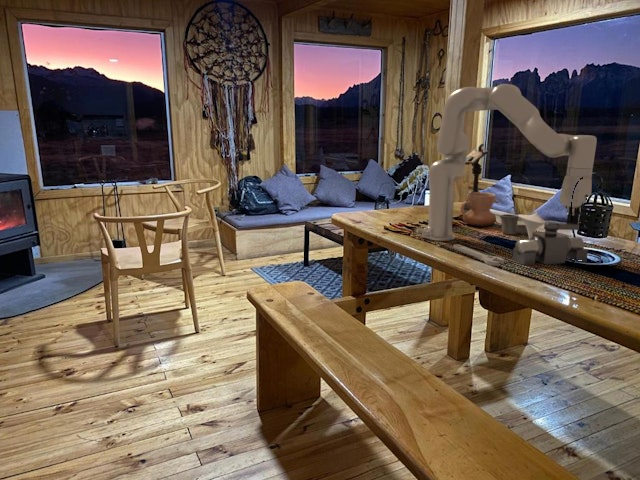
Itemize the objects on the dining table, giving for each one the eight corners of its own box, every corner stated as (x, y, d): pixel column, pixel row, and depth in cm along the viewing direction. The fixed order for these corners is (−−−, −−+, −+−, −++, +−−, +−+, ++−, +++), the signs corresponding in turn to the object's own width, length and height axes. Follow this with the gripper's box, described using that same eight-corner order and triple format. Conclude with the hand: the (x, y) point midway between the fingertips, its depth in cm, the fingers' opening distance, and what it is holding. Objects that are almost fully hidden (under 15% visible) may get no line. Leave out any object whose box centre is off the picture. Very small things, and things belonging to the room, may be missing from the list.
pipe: (532, 236, 197) (534, 217, 195) (499, 235, 200) (500, 216, 198) (529, 233, 203) (531, 214, 201) (497, 231, 206) (499, 213, 204)
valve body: (524, 265, 160) (527, 234, 157) (511, 258, 167) (514, 228, 165) (587, 261, 163) (591, 230, 160) (572, 255, 171) (575, 225, 168)
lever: (546, 230, 161) (547, 224, 160) (542, 227, 165) (543, 221, 164) (599, 232, 158) (600, 225, 158) (594, 228, 162) (595, 222, 162)
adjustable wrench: (451, 248, 183) (451, 244, 183) (466, 247, 185) (466, 242, 184) (491, 267, 160) (492, 262, 159) (508, 265, 161) (508, 260, 161)
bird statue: (464, 216, 237) (469, 144, 228) (449, 211, 249) (453, 142, 240) (492, 214, 242) (498, 143, 233) (476, 209, 254) (481, 141, 245)
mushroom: (540, 238, 193) (543, 209, 190) (547, 245, 183) (550, 214, 180) (513, 237, 195) (516, 208, 192) (518, 244, 185) (521, 214, 182)
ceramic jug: (488, 220, 227) (491, 190, 224) (504, 227, 213) (507, 195, 210) (452, 222, 225) (454, 192, 221) (465, 229, 211) (468, 197, 207)
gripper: (555, 170, 168) (548, 221, 173) (584, 175, 154) (576, 231, 159) (574, 170, 169) (567, 221, 174) (605, 175, 155) (596, 230, 160)
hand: (571, 225), depth 166 cm, fingers closed
